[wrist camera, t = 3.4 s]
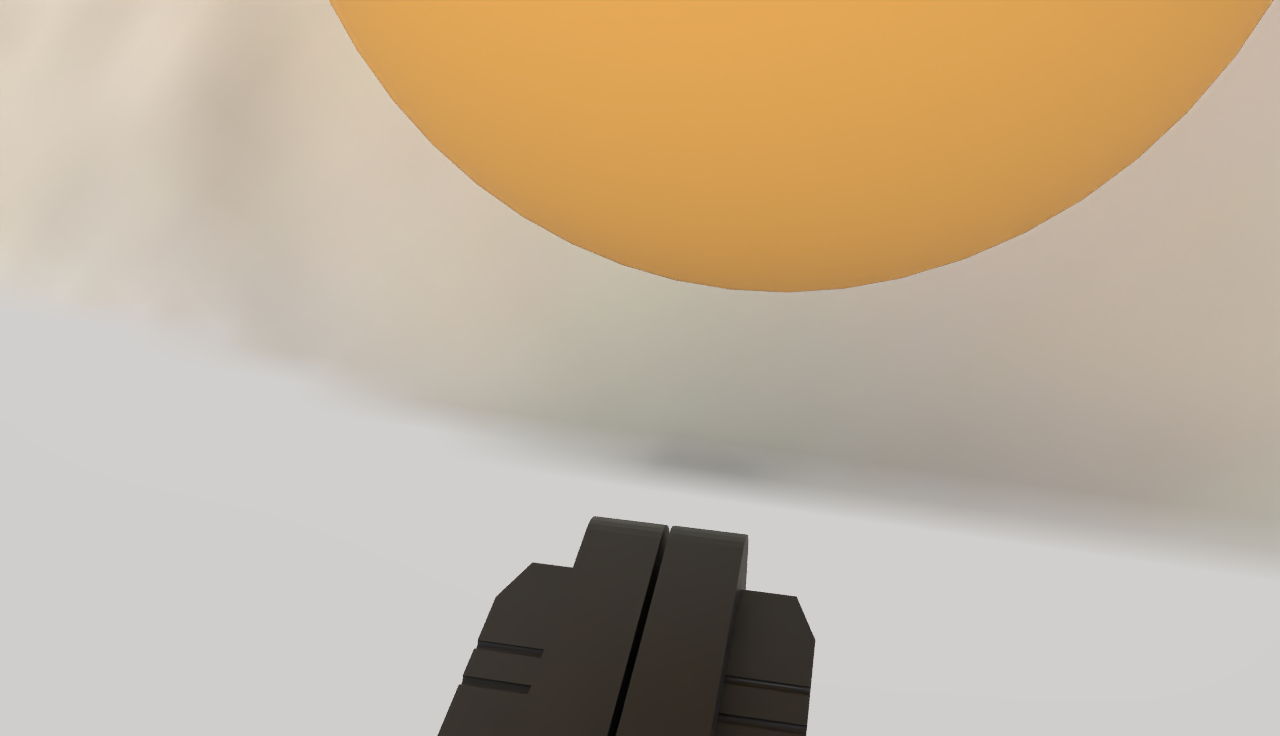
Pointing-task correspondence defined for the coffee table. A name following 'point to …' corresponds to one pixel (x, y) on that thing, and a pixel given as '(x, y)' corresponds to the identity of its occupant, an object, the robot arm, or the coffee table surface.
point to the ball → (794, 119)
